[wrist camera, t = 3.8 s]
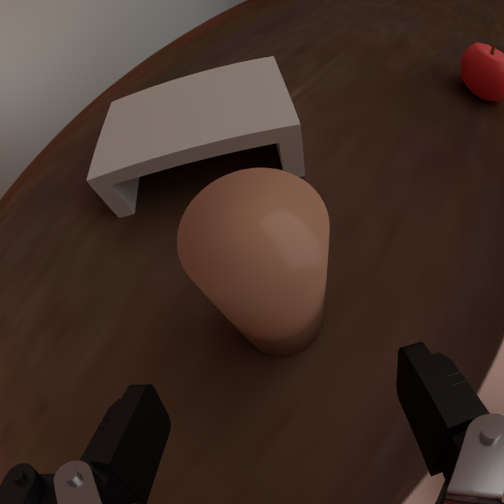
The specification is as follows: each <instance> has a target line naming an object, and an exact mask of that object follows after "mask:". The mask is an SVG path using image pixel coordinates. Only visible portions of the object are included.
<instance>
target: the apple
mask: <svg viewBox="0 0 504 504" xmlns="http://www.w3.org/2000/svg"><path fill="white" fill-rule="evenodd" d="M461 79H462V81H463V82H464V83H465V85H466V86H467V87H468V89H469V90H470V91H471V92H472V93H473V94H474V95H476V96H477V97H479V98H480V99H482V100H483V101H494V102H501V101H502V99H503V98H504V54H503V53H502V52H500V51H499V50H497V49H495V44H493V45H492V47H491V46H490V45H487V44H482V43H478V42H476V43H474V44H473V45H472V46H470V47H469V48H468V49H467V50H466V51H465V52H464V54H463V56H462V58H461Z"/></svg>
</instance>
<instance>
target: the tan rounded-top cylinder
mask: <svg viewBox="0 0 504 504" xmlns="http://www.w3.org/2000/svg"><path fill="white" fill-rule="evenodd" d="M329 230H330V228H329V217H328V213H327V210H326V207H325V204H324V202H323V201H322V199H321V197H320V196H319V194H318V193H317V192H316V190H315V189H314V188H313V187H312V186H311V185H309V184H308V183H307V182H306V181H304V180H303V179H301V178H299V177H298V176H296V175H294V174H291V173H289V172H286V171H282V170H279V169H272V168H250V169H244V170H239V171H236V172H233V173H230V174H227V175H225V176H223V177H221V178H219V179H217V180H215V181H214V182H212V183H210V184H209V185H208V186H206V187H205V188H204V189H203V190H202V191H201V192H199V193H198V194H197V195H196V197H195V198H194V199H193V200H192V201H191V203H190V204H189V206H188V207H187V209H186V210H185V212H184V214H183V216H182V219H181V222H180V224H179V228H178V233H177V250H178V255H179V259H180V261H181V264H182V266H183V268H184V270H185V271H186V273H187V275H188V276H189V277H190V278H191V279H192V281H193V282H194V283H195V284H196V285H197V286H198V287H199V288H200V289H201V291H202V292H203V293H204V294H205V295H206V296H207V297H208V298H209V299H210V300H211V301H212V303H213V304H214V305H215V306H216V307H217V308H218V309H219V310H220V311H221V312H222V313H223V314H224V315H225V316H226V317H227V319H228V320H229V321H230V322H231V323H232V324H233V325H234V326H235V327H236V328H237V329H238V330H239V331H240V332H241V333H242V334H243V335H244V336H245V337H246V338H247V339H248V340H249V341H250V342H251V343H252V344H253V345H254V346H255V347H256V348H257V349H258V350H260V351H261V352H263V353H265V354H268V355H271V356H277V357H286V356H292V355H295V354H298V353H300V352H302V351H304V350H305V349H306V348H308V347H309V346H310V345H311V344H312V343H313V342H314V341H315V339H316V338H317V336H318V334H319V332H320V329H321V326H322V320H323V310H324V299H325V288H326V276H327V262H328V247H329Z"/></svg>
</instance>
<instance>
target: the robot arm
mask: <svg viewBox="0 0 504 504" xmlns="http://www.w3.org/2000/svg"><path fill="white" fill-rule="evenodd" d="M396 385H397V394H398V398H399V401H400V403H401V406H402V408H403V410H404V412H405V415H406V417H407V419H408V422H409V424H410V426H411V429H412V431H413V433H414V436H415V438H416V440H417V443H418V445H419V448H420V450H421V453H422V455H423V458H424V460H425V463H426V465H427V468H428V470H429V473H430V475H431V476H434V475H436V474H439V473H441V472H442V473H443V475H444V478H445V482H444V484H443V487H442V490H441V492H440V494H439V496H438V499H437V501H436V503H435V504H504V503H502V495H503V491H504V416H502V415H499V414H490V413H489V412H488V410H487V409H486V407H485V406H484V404H483V403H482V402H481V400H480V399H479V397H478V396H477V394H476V393H475V391H474V390H473V389H472V387H471V386H470V384H469V383H468V382H467V381H466V380H465V377H464V376H463V375H462V373H461V372H459V369H458V368H457V367H456V365H455V364H454V363H453V361H452V360H451V359H449V358H448V357H446V356H444V355H442V354H441V353H436V354H433V355H432V354H431V353H430V351H429V350H428V348H427V347H426V346H425V344H424V343H423V342H419V343H415V344H412V345H408V346H405V347H401V348H400V349H399V351H398V368H397V384H396ZM170 427H171V424H170V418H169V415H168V413H167V411H166V409H165V408H164V406H163V404H162V402H161V400H160V398H159V396H158V394H157V392H156V390H155V388H154V387H153V386H152V385H151V384H144V385H130V386H129V387H128V388H127V390H126V392H125V393H124V395H123V397H122V399H118V400H117V401H116V402H115V403H114V404H113V405H112V406H111V407H110V408H109V409H108V410H107V412H106V414H105V416H104V418H103V421H101V423H100V425H99V426H98V430H96V432H95V434H94V435H93V437H92V439H91V441H90V443H89V445H88V446H87V448H86V450H85V452H84V454H83V456H82V457H81V459H80V461H70V462H68V463H66V464H64V465H62V466H61V467H60V468H59V469H58V470H57V472H56V474H39V473H38V472H37V471H36V470H35V469H34V468H33V467H32V466H31V465H29V464H26V463H22V464H18V465H16V466H14V467H13V468H11V469H10V470H9V472H8V473H7V475H6V476H5V478H4V480H3V482H2V483H1V485H0V504H133V503H137V504H146V503H147V500H148V497H149V494H150V491H151V488H152V485H153V482H154V478H155V475H156V472H157V469H158V466H159V463H160V460H161V457H162V454H163V451H164V448H165V445H166V442H167V439H168V436H169V433H170Z"/></svg>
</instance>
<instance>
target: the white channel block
mask: <svg viewBox="0 0 504 504" xmlns="http://www.w3.org/2000/svg"><path fill="white" fill-rule="evenodd" d="M275 143H276V146H277V149H278V153H279V157H280V161H281V165H282V170H283V171H286V172H289V173H291V174H294V175H296V176H298V177H302V176H305V170H304V158H303V147H302V136H301V126H300V122H299V119H298V117H297V114H296V111H295V109H294V106H293V103H292V101H291V98H290V96H289V93H288V91H287V88H286V85H285V83H284V80H283V78H282V76H281V73H280V71H279V68H278V66H277V63H276V61H275V59H274V56H271V57H266V58H260V59H255V60H250V61H245V62H240V63H236V64H231V65H227V66H223V67H219V68H215V69H211V70H207V71H203V72H199V73H196V74H192V75H189V76H185V77H182V78H179V79H175V80H172V81H169V82H166V83H163V84H160V85H157V86H154V87H151V88H148V89H145V90H142V91H139V92H137V93H134V94H131V95H129V96H126V97H123V98H121V99H118V100H116V101H113V102H112V103H111V106H110V108H109V111H108V114H107V116H106V119H105V122H104V125H103V128H102V131H101V134H100V137H99V140H98V143H97V146H96V149H95V152H94V156H93V159H92V162H91V166H90V169H89V173H88V177H87V180H86V181H87V182H88V183H89V185H90V186H91V187H92V188H93V189H94V190H95V191H96V193H97V194H98V195H99V196H100V197H101V198H102V200H103V201H104V202H105V203H106V204H107V205H108V206H109V207H110V209H111V210H112V211H113V212H114V213H115V214H116V215H117V216H118V217H119V218H122V217H125V216H129V215H133V214H135V207H136V199H137V191H138V184H139V177H141V176H144V175H147V174H151V173H154V172H158V171H161V170H165V169H168V168H172V167H176V166H179V165H183V164H187V163H191V162H195V161H199V160H203V159H207V158H211V157H215V156H219V155H223V154H228V153H232V152H237V151H241V150H246V149H250V148H255V147H260V146H265V145H270V144H275Z"/></svg>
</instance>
